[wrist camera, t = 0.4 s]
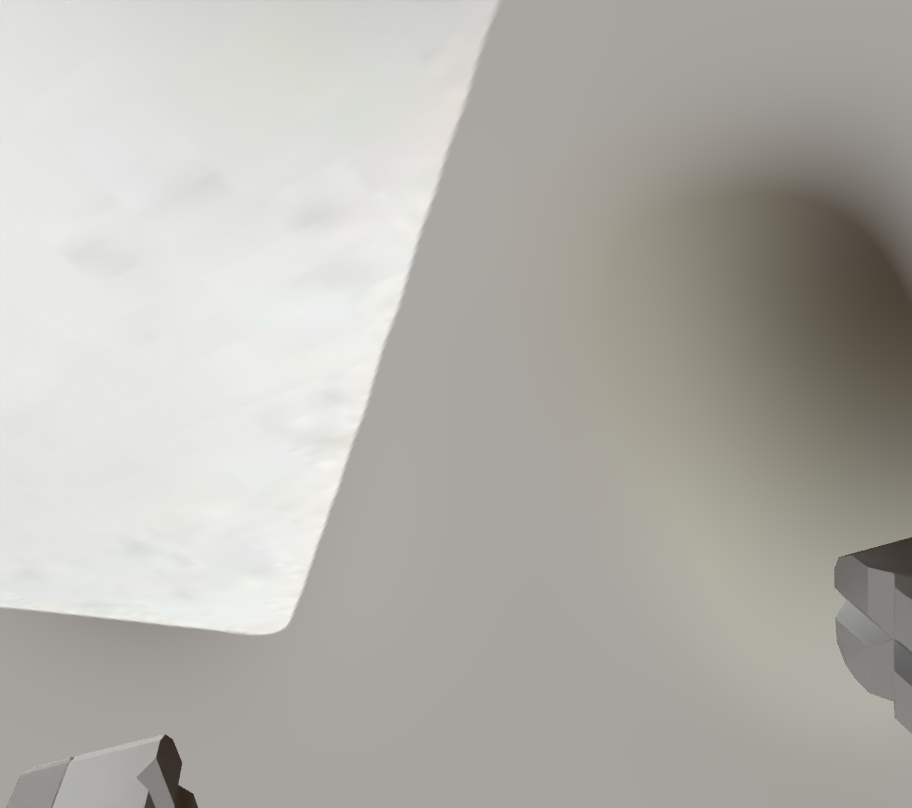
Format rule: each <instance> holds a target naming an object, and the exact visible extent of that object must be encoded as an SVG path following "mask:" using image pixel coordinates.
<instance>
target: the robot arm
mask: <svg viewBox="0 0 912 808" xmlns="http://www.w3.org/2000/svg"><path fill="white" fill-rule="evenodd" d="M834 578H835V588H836V589H837V590H838V591H839V592H840V593H841V594H842V595H843V596H844V597H845V598H846V601H845V603H844V604H843V606H842V608H841V610H840V611H839V613H838V615H837V617H836V634H837V643H838V645H839V648H840V651H841V653H842V656H843V659H844V662H845V664H846V665H847V667H848V668H849V670H850V671H851V673H852V674H853V676H854V677H855V679H856V680H857V681H858V682H859V683H860V684H861V685H862V686H863V687H864V688H865V689H866V690H867V691H868V692H869V693H871V694H874V695H877V696H880V697H882V698H885V699H888V700H891V701H894V710H895V718H896V719H897V720H898V721H899V722H900V723H901V724H902V725H903V726H904V727H905V728H906V729H907V730H908V731H910V732H911V733H912V537H910V538H907V539H903V540H899V541H896V542H892V543H888V544H885V545H881V546H878V547H874V548H870V549H867V550H863V551H859V552H856V553H852V554H848V555H845V556H841V557H839V558H838V561H837V563H836V566H835V569H834ZM181 767H182V761H181V759H180V756H179V754H178V751H177V748H176V746H175V743H174V741H173V739H171V738H170V737H169V736H167V735H166V734H165V735H161V736H156V737H152V738H148V739H144V740H140V741H136V742H132V743H127V744H123V745H120V746H115V747H111V748H107V749H103V750H99V751H94V752H91V753H86V754H82V755H78V756H76V757H75V758H73V757H70V758H67V759H63V760H59V761H55V762H51V763H47V764H44V765H40V766H36V767H32V768H30V769H29V770H27V771H26V772H25V773H23V774H22V775H21V777H20V778H19V780H18V783H17V785H16V787H15V789H14V792H13V794H12V796H11V798H10V801H9V803H8V805H7V807H6V808H198V806H197V803H196V800H195V797H194V794H193V793H191V792H189V791H188V790H186V789H185V788H183V787H181V786H180V785H178V783H179V778H180V772H181Z"/></svg>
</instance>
